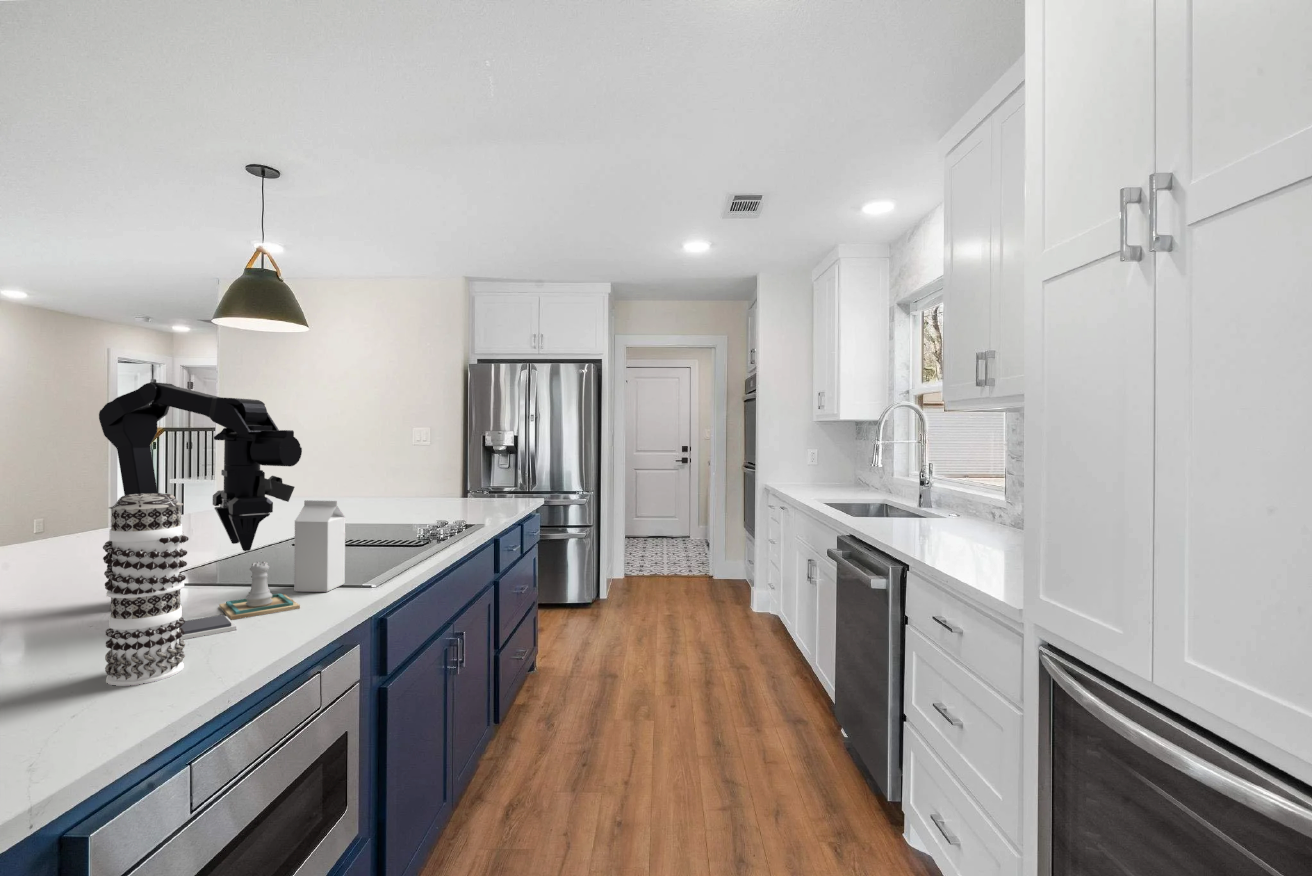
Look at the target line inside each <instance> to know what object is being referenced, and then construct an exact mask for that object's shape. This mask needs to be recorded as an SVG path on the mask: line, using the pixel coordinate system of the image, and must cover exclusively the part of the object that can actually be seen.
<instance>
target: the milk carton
mask: <svg viewBox="0 0 1312 876" xmlns="http://www.w3.org/2000/svg"><path fill="white" fill-rule="evenodd" d="M293 563H294V567H293V568H294V569H293V570H294V572H293V573H294V574H293V575H294V576H293V577H294V578H293V579H294V580H293V581H294V583H293V584H294V586H293V587H294V589H293V590H294V592H307V593H308V592H311V593H312V592H315V593H328V592H330V591H332V590H334V589H336V588H339V587H341V586H342V585H344V584H345V582H346V581H345V580H346V579H345V578H346V572H345V571H346V568H345V567H346V516H345V515H344V513H343V511H342V510H341V509H340V508H339V506H338V500H304V505H303V507H302V508H301V510H300V512H299V513H298V515H297V517H296V518H295V520H294V562H293Z"/></svg>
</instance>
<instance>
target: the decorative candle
mask: <svg viewBox="0 0 1312 876" xmlns="http://www.w3.org/2000/svg"><path fill="white" fill-rule="evenodd" d="M184 505H185V504H184V503H181V502H179V501H178V499H177V498H176V497H175V496H174V495H173V494H172V493H163V492H158V493H146V494H132V495H122V496H121V497H119V498H118V500H117V501H116V503H114V505H112V506H109V507H108V509H110V511H111V519H110V523H111V526H110V529H109V534H108V535H109V540H108V541H106V542H104V544H103V546H102V549H103V550H104V551H105V552H106V554H105V555H104V556H103V557H102V560H103V562H104V564H106V565H108V564H109V565H111V567H109V568H107V567H106V570H105V571H104V574H103V575H104V576H105V578H106V580H107V581H106V582H105V583H104V587H105V590H107V591H106V595H105V596H106V597H108V598H110V614H109V617H108V628H107V629H106V630H105V636H106V637H109V639H108V640H106V641H105V647H106V648H107V649H110V650H109V651H107V653H106V654H105V657H104V659H105V662H106V663H107V664H106V665H105V668H104V669H105V674H107V676H106V680H105V684H107V683H108V684H107V685H110V686H112V685H116V686H115V687H129V686H130V685H131V686H139V684H140V685H144V684H143V683H145V684H149V683H150V684H151V683H155V682H158V681H161V680H164V679H165V680H166V679H168V678H170V677H172V676H175V675H177V674H180V673H181V672H182V671H183V670H184V669H185V664H184V662H183V659H184V658H185V657H186V654H184V653H185V652H184V651H183V650H184V648H185V646H186V643H185V642H184V639H183V640H182V639H180V638H181V637H182V635H184V634H185V631H184V630H183V628H180V627H181V626H182V625H183V624H184V623H185V621H186V620H185V618H184V617H182V615H183V612H182V610H183V606H182V605H181V589H183V588H184V587H185V582H184V581H185V580H186V579H187V576H186V575H184V574H182V573H181V572H180V570H181V569H183V568H184V567H186V566H187V565H188V562H187V561H185V560H183V559H181V558H183V557H185V556H187V555H188V551H187V550H185V549H183V548H180V545H182V544H184V543H185V542H188V541H189V539H190V538H189V537H188V536H186V535H185V534H184V531H183V524H182V522H181V521H182V519H181V518H182V514H181V512H182V511H181V507H182V506H184ZM179 542H180V543H179ZM154 681H155V682H154Z"/></svg>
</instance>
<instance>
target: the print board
mask: <svg viewBox="0 0 1312 876" xmlns="http://www.w3.org/2000/svg"><path fill="white" fill-rule="evenodd" d="M272 595H273V596H272V598H271V599H272V600H273V601H272V603H271V604H270V605H267V606H263V607H248V606H247V605H246V603H247V602H248V601H247V600H246V598H240V599H235V600H228V601H225V602H224V603H219V604H218V605H219V609H220V610H221V609H222V610H223V611H224V612H225V613H224V612H223V611H222V610H221V611H222V612H223V613H224V615H226V616H227V617H228V618H229V619H230V620H231V621H234V620H239V619H240V620H241V619H246V618H251V617H256V615H258V616H262V615H269V614H273V613H281V612H286V611H292V610H298V609H301V605H300V604H299V603H297V602H296V601H295V600H293V599H292V598H290V597H289V596H288V595H287V594H285V593H283V594H282V593H281V592H280V593H274V594H273V593H272ZM245 617H246V618H245Z"/></svg>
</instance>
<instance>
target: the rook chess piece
mask: <svg viewBox="0 0 1312 876" xmlns="http://www.w3.org/2000/svg"><path fill="white" fill-rule="evenodd" d="M269 568H270V565H268V562H267V561H262V562H261V563H260V561H256V562H252V563H251V566H250V568H249V570H250V571H251V574H252V575H251V576H250V577H251V586H250V590H249V592H248V595H247V596H246V598H245V599H246V600H247V601H248V602H247V603H246V605H247V606H248V607H263V606H267V605H270V604H271V603H272V601H273V600H272V599H271V598H272V596H273V593H272V592H271V590H270V589H269V585H268V577H269V574H268V570H269Z"/></svg>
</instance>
